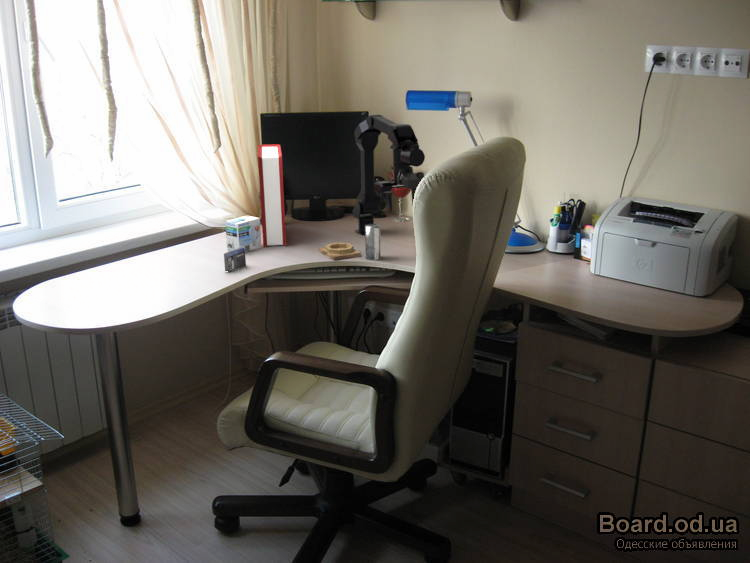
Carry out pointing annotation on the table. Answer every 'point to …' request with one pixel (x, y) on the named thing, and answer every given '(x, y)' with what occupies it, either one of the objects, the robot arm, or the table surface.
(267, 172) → the book
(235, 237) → the light bulb box
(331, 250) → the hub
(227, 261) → the mini dv tape
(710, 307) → the table surface
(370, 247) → the shaft
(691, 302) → the table surface
